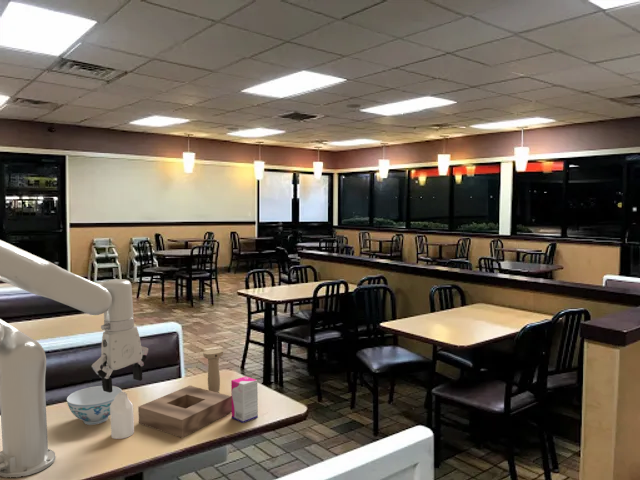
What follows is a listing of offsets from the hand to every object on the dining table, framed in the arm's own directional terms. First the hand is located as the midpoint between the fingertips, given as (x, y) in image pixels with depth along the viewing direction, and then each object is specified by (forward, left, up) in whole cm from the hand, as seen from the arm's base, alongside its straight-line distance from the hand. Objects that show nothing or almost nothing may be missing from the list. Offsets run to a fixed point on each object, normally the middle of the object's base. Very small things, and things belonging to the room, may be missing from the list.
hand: (123, 385), depth 140 cm
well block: (+16, -7, -14) cm, 22 cm away
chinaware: (+1, +15, -14) cm, 21 cm away
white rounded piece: (-1, 0, -14) cm, 14 cm away
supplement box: (+25, -22, -14) cm, 36 cm away
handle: (+33, -2, -14) cm, 36 cm away
